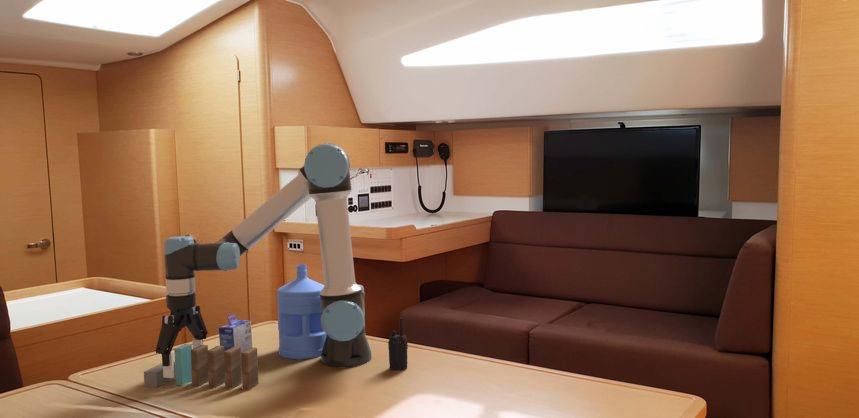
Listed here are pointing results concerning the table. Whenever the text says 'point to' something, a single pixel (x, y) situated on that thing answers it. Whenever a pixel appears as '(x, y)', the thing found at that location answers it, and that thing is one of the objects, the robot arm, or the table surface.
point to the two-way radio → (398, 350)
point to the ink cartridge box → (236, 334)
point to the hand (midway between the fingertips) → (184, 369)
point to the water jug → (300, 317)
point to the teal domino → (183, 364)
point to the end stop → (156, 376)
